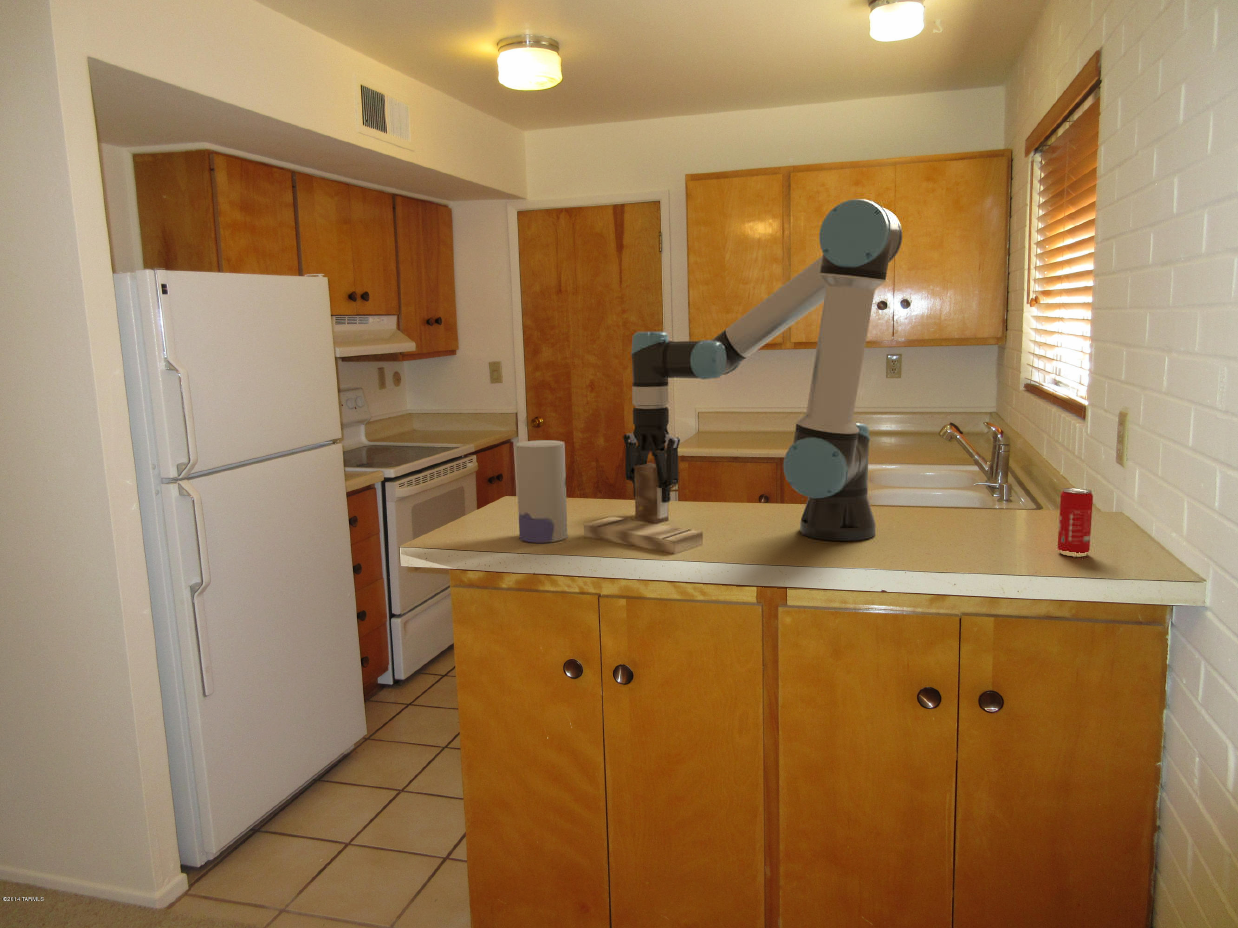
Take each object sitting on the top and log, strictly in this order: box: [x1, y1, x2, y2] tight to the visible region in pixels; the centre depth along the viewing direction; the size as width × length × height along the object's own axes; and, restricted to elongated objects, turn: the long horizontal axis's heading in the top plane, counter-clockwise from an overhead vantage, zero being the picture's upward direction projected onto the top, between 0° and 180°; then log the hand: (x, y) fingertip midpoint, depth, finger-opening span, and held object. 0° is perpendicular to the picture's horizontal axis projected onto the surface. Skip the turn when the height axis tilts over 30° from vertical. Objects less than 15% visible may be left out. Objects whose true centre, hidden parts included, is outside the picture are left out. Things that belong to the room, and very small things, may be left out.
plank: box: [583, 516, 704, 555], centre depth 174 cm, size 24×9×3 cm, turn 49°
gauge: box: [634, 462, 669, 525], centre depth 180 cm, size 5×6×12 cm
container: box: [515, 439, 568, 544], centre depth 176 cm, size 10×10×20 cm
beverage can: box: [1057, 487, 1094, 553], centre depth 156 cm, size 5×5×12 cm
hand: (651, 515), depth 181 cm, fingers closed on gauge, 5 cm apart
